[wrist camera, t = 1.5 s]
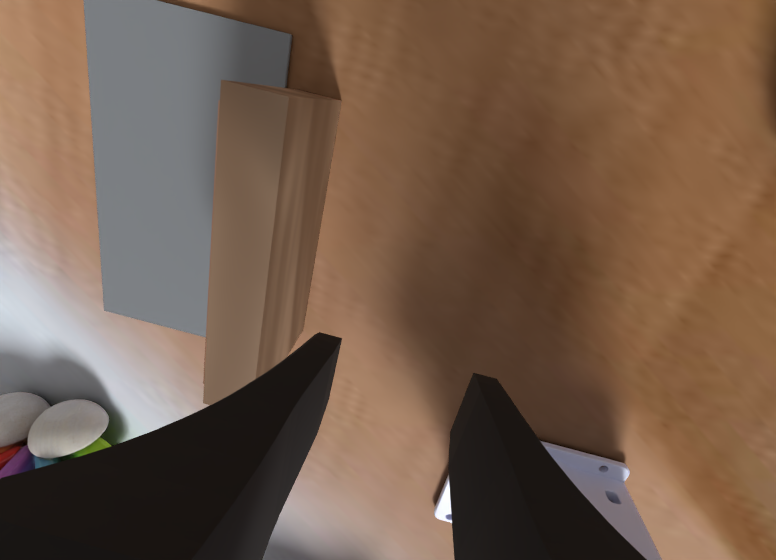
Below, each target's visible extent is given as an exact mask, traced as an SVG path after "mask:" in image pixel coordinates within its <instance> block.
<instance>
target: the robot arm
mask: <svg viewBox="0 0 776 560" xmlns="http://www.w3.org/2000/svg"><path fill="white" fill-rule="evenodd" d="M341 340H342V338H339V337H335V336H331V335H327V334H324V333H320V332H319V333H317V334H315V335H314V336H313V337H311V338H310V339H309V340H308V341H307V342H306V343H304V344H303V345H302V346H301V347H300V348H298V349H297V350H296V351H294V352H293V353H292V354H291V355H289V356H288V357H287V358H285V359H284V360H283V361H281V362H280V363H278V364H277V365H276V366H274V367H273V368H271V369H270V370H269V371H267V372H266V373H264V374H263V375H261V376H260V377H258V378H256V379H255V380H253V381H252V382H250V383H248V384H247V385H245V386H244V387H242V388H241V389H239V390H237V391H235V392H234V393H232V394H230V395H229V396H227V397H225V398H223V399H221V400H219V401H218V402H216V403H214V404H212V405H210V406H208V407H206V408H204V409H202V410H200V411H198V412H196V413H194V414H191V415H189V416H187V417H185V418H183V419H180V420H178V421H176V422H173V423H171V424H169V425H166V426H164V427H162V428H159V429H157V430H155V431H152V432H149V433H147V434H144V435H141V436H139V437H136V438H133V439H130V440H128V441H125V442H122V443H119V444H116V445H113V446H110V447H107V448H104V449H101V450H98V451H95V452H92V453H89V454H86V455H82V456H79V457H76V458H72V459H69V460H65V461H61V462H58V463H54V464H51V465H47V466H43V467H40V468H36V469H33V470H29V471H26V472H22V473H18V474H14V475H10V476H6V477H2V478H1V479H0V560H262V558H263V556H264V553H265V550H266V547H267V545H268V542H269V539H270V536H271V534H272V531H273V529H274V527H275V524H276V522H277V519H278V517H279V515H280V512H281V510H282V508H283V506H284V504H285V502H286V500H287V497H288V495H289V493H290V491H291V489H292V487H293V485H294V482H295V480H296V478H297V476H298V474H299V472H300V470H301V467H302V465H303V463H304V461H305V459H306V457H307V455H308V452H309V450H310V448H311V446H312V444H313V442H314V439H315V437H316V435H317V433H318V430H319V427H320V424H321V421H322V418H323V415H324V412H325V409H326V406H327V403H328V400H329V396H330V391H331V387H332V382H333V377H334V373H335V368H336V363H337V359H338V354H339V350H340V345H341ZM601 466H603V467H601ZM448 469H449V474H448V477H447V479H446V482H445V484H444V487H443V489H442V491H441V494H440V496H439V499H438V501H437V504H436V506H435V510H434V515H435V517H436V518H438V519H440V520H444V521H447V522H451V523H452V529H453V543H454V557H455V560H662V559H661V557H660V555H659V553H658V551H657V549H656V547H655V545H654V543H653V540H652V538H651V536H650V534H649V532H648V530H647V528H646V526H645V524H644V522H643V520H642V518H641V516H640V514H639V512H638V510H637V508H636V506H635V504H634V502H633V500H632V498H631V496H630V494H629V492H628V490H627V488H626V486H625V484H624V482H625V480H626V479H627V477H628V476H629V474H630V471H629V469H628V467H627V465H626V464H624V463H622V462H618V461H614V460H611V459H607V458H603V457H599V456H596V455H592V454H588V453H584V452H580V451H577V450H573V449H569V448H565V447H562V446H558V445H554V444H550V443H546V442H543V441H540V440H539V439H538V438H537V436H536V435H535V433H534V432H533V431H532V429H531V428H530V426H529V425H528V424H527V422H526V421H525V419H524V418H523V416H522V415H521V413H520V412H519V411H518V409H517V408H516V406H515V405H514V403H513V402H512V400H511V399H510V397H509V396H508V394H507V393H506V391H505V390H504V389H503V387H502V386H501V384H500V383H499V382H498V380H497V379H495V378H491V377H487V376H483V375H480V374H476V373H473V375H472V378H471V380H470V383H469V386H468V388H467V391H466V393H465V396H464V398H463V401H462V404H461V406H460V409H459V411H458V414H457V416H456V419H455V422H454V424H453V427H452V429H451V432H450V448H449V468H448Z"/></svg>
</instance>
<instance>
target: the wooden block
mask: <svg viewBox="0 0 776 560" xmlns="http://www.w3.org/2000/svg"><path fill="white" fill-rule="evenodd" d="M341 102H342V101H341V100H337V99H333V98H329V97H325V96H321V95H318V94H314V93H310V92H306V91H302V90H298V89H290V88H282V87H275V86H267V85H259V84H251V83H243V82H236V81H228V80H221V88H220V100H219V101H218V120H217V138H216V157H215V176H214V194H213V213H212V232H211V250H210V269H209V287H208V306H207V325H206V343H205V362H204V380H203V384H204V397H203V403H205V404H208V405H212V404H214V403H216V402H218V401H219V400H221V399H223V398H225V397H227V396H229V395H230V394H232V393H234V392H235V391H237V390H239V389H241V388H242V387H244V386H245V385H247V384H248V383H250V382H252V381H253V380H255V379H256V378H258V377H260V376H261V375H263V374H264V373H266V372H267V371H269V370H270V369H271V368H273V367H274V366H276V365H277V364H278V363H280V362H281V361H283V360H284V359H285V358H286V357H287V356H288V354H289V352H290V351H291V349H292V348H293V346H294V344H295V343H296V341H297V339H298V338H299V336H300V334H301V333H302V331H303V328H304V322H305V316H306V310H307V304H308V298H309V292H310V286H311V280H312V275H313V269H314V263H315V257H316V251H317V245H318V239H319V233H320V227H321V221H322V215H323V209H324V203H325V197H326V191H327V185H328V179H329V174H330V168H331V162H332V156H333V150H334V144H335V138H336V132H337V126H338V120H339V114H340V108H341Z"/></svg>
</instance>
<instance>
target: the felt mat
mask: <svg viewBox="0 0 776 560" xmlns="http://www.w3.org/2000/svg"><path fill="white" fill-rule="evenodd" d="M84 14H85V29H86V44H87V59H88V74H89V89H90V105H91V120H92V135H93V150H94V165H95V180H96V195H97V211H98V226H99V241H100V256H101V271H102V286H103V301H104V311H108V312H112V313H115V314H119V315H123V316H127V317H131V318H134V319H138V320H142V321H146V322H149V323H153V324H157V325H161V326H165V327H168V328H172V329H176V330H180V331H184V332H187V333H191V334H195V335H199V336H203V337H206V325H207V306H208V287H209V269H210V250H211V232H212V213H213V194H214V176H215V157H216V138H217V120H218V101H219V100H220V88H221V80H228V81H236V82H243V83H251V84H259V85H267V86H275V87H282V88H286V85H287V77H288V68H289V59H290V51H291V42H292V35H291V34H288V33H284V32H280V31H276V30H272V29H268V28H264V27H260V26H256V25H252V24H248V23H244V22H240V21H236V20H232V19H228V18H224V17H220V16H216V15H213V14H209V13H205V12H201V11H197V10H193V9H189V8H185V7H181V6H177V5H173V4H169V3H165V2H161V1H157V0H84Z"/></svg>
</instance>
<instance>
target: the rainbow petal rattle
mask: <svg viewBox="0 0 776 560" xmlns="http://www.w3.org/2000/svg"><path fill="white" fill-rule="evenodd" d="M108 422H109V417H108V414H107V413H106V411H105V410H104V409H103V408H102V407H101V406H100V405H98V404H96V403H94V402H92V401H89V400H84V399H73V400H67V401H63V402H60V403H58V404H55V405H53V406H50V405H49V404H48V403H47V401H45V400H44V399H43V398H41V397H40V396H38V395H35V394H32V393H27V392H12V393H7V394H3V395H0V479H1V478H2V477H6V476H10V475H14V474H18V473H22V472H26V471H29V470H33V469H36V468H40V467H43V466H47V465H51V464H54V463H58V462H61V461H65V460H69V459H72V458H76V457H79V456H82V455H86V454H89V453H92V452H95V451H98V450H101V449H104V448H107V447H110V446H111V445H110V444H109V443H108V442H106V441H105V440H104V439H102V438H101V437H100V436H101V435H102V433H103V432H104V431H105V430H106V428H107V426H108Z"/></svg>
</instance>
